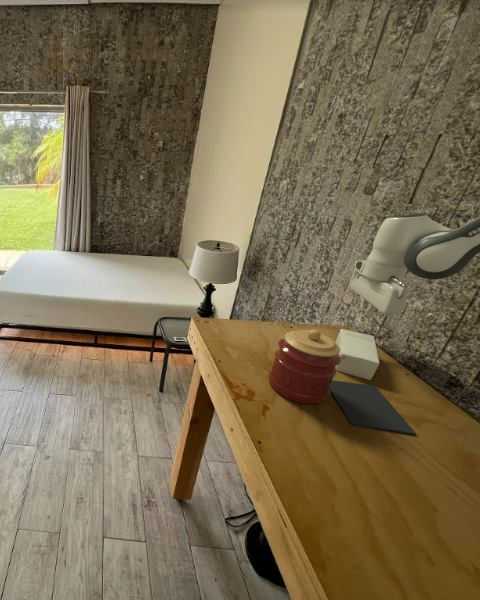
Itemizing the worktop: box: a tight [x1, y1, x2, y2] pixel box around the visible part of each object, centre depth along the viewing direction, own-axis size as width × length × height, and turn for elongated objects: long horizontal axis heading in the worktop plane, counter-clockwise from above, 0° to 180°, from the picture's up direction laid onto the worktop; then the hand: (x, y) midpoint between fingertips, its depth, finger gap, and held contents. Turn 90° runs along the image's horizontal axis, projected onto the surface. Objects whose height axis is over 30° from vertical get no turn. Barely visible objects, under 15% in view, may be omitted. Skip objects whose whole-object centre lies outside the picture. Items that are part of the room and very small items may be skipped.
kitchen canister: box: [268, 328, 341, 405], centre depth 80 cm, size 13×13×18 cm
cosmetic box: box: [334, 328, 380, 381], centre depth 92 cm, size 8×7×16 cm
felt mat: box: [328, 379, 417, 436], centre depth 77 cm, size 12×16×1 cm
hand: (365, 314), depth 96 cm, fingers closed
